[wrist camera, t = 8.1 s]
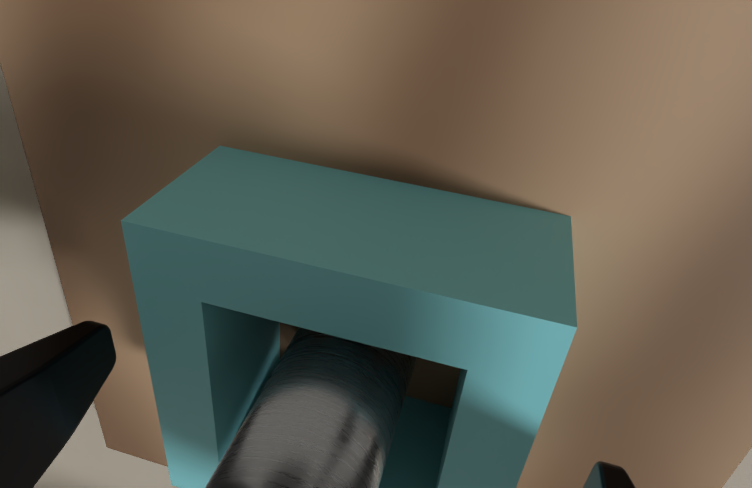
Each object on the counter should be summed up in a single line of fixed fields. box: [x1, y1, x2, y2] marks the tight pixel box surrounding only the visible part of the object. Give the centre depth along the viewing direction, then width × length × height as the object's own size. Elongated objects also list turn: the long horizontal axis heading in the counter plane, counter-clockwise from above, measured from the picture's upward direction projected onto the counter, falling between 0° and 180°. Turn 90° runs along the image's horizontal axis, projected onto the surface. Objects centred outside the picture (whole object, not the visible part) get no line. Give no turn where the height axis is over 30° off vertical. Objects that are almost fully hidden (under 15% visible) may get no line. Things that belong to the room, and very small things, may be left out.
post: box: [205, 327, 417, 488], centre depth 10 cm, size 2×2×5 cm
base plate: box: [0, 0, 752, 488], centre depth 12 cm, size 16×16×1 cm
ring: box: [121, 146, 577, 488], centre depth 11 cm, size 7×7×3 cm
